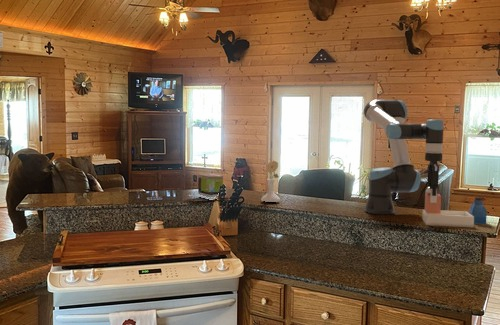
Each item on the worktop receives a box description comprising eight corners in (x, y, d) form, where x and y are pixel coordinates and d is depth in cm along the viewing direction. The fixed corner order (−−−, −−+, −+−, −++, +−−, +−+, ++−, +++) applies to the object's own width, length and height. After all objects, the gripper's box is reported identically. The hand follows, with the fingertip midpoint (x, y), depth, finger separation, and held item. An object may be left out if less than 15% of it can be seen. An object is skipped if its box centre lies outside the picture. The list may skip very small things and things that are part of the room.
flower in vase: (257, 201, 279) (257, 159, 277) (273, 200, 285) (274, 159, 283) (268, 205, 268) (269, 161, 266) (285, 203, 273) (286, 160, 271)
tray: (422, 219, 230) (422, 209, 230) (466, 221, 226) (466, 211, 226) (427, 225, 217) (427, 214, 217) (473, 227, 214) (474, 216, 213)
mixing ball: (427, 197, 224) (422, 190, 225) (434, 193, 224) (429, 186, 225) (430, 196, 220) (424, 189, 221) (437, 191, 220) (432, 184, 221)
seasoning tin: (424, 211, 226) (425, 193, 226) (437, 211, 225) (438, 193, 224) (426, 213, 220) (427, 195, 220) (440, 213, 219) (441, 195, 219)
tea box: (223, 199, 285) (223, 175, 284) (208, 201, 280) (208, 176, 279) (212, 196, 298) (212, 173, 297) (197, 197, 293) (197, 173, 292)
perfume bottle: (486, 224, 222) (487, 198, 221) (471, 223, 223) (473, 198, 222) (482, 221, 228) (483, 196, 227) (468, 220, 229) (469, 196, 228)
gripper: (446, 153, 211) (444, 205, 212) (438, 151, 229) (436, 198, 231) (429, 153, 212) (427, 204, 214) (421, 151, 231) (420, 198, 232)
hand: (431, 201), depth 222 cm, fingers closed on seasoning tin, 6 cm apart
